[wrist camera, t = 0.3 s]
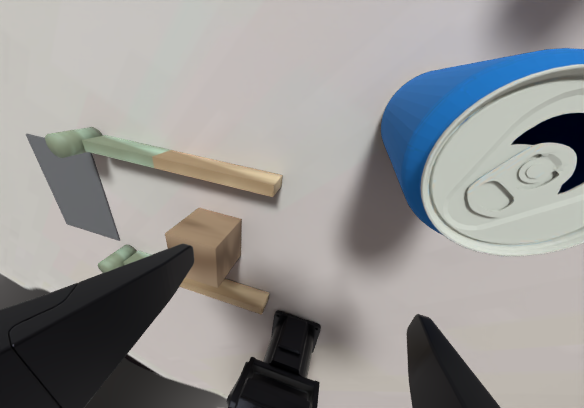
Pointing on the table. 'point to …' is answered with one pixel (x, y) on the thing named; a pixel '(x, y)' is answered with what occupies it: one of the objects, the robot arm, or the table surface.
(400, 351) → the table surface
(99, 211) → the pit mat
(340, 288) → the table surface
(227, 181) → the lane walls
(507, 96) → the beverage can
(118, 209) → the table surface
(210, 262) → the block
